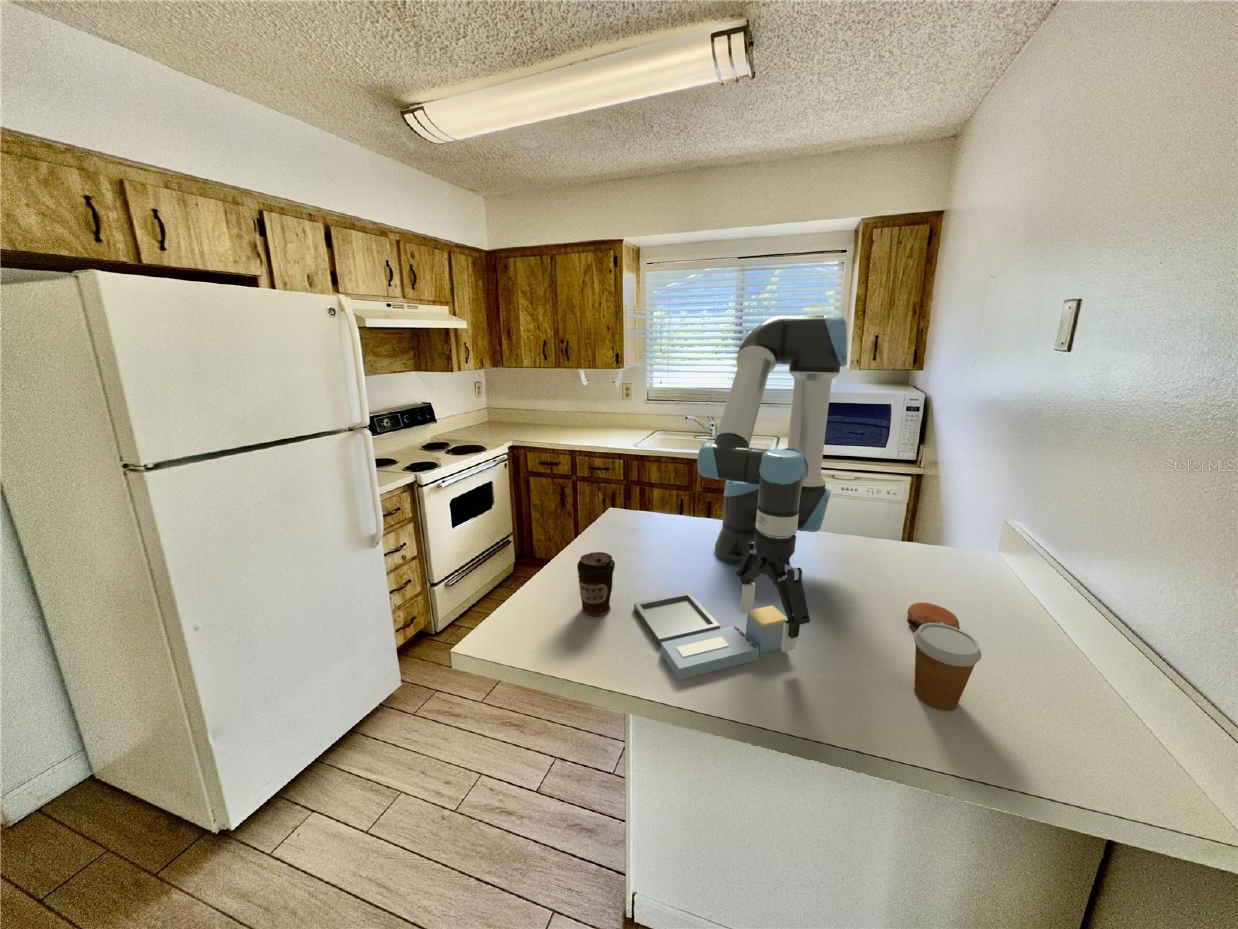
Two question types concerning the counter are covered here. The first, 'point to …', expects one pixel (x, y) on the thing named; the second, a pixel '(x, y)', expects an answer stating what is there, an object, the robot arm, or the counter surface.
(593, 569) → the coffee cup
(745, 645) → the blue labeled box
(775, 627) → the yellow topped blue block
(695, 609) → the tray
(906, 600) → the counter surface
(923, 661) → the disposable coffee cup
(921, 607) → the burger
